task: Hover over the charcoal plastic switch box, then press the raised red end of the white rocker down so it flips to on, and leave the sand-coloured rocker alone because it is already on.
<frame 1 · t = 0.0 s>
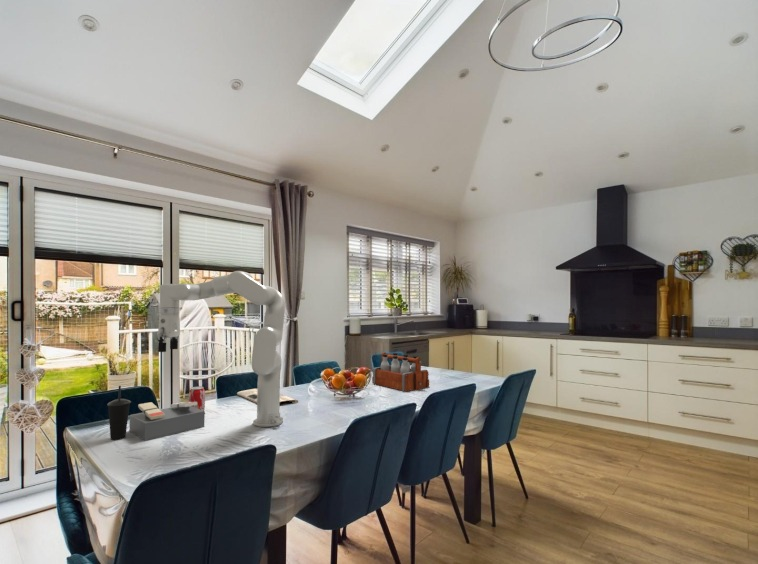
hand: (168, 350, 178), 31 cm above the table, fingers open, 9 cm apart
soda can: (196, 413, 191), on the table
newspaper: (267, 399, 220), on the table
sand rocker: (151, 410, 163), point 9 cm above the table, hinge at -10.0°
milk bottle holder: (400, 386, 255), on the table
white rocker: (184, 404, 173), point 9 cm above the table, hinge at 10.0°
drinking cup: (118, 438, 156), on the table
switch box: (167, 428, 168), on the table
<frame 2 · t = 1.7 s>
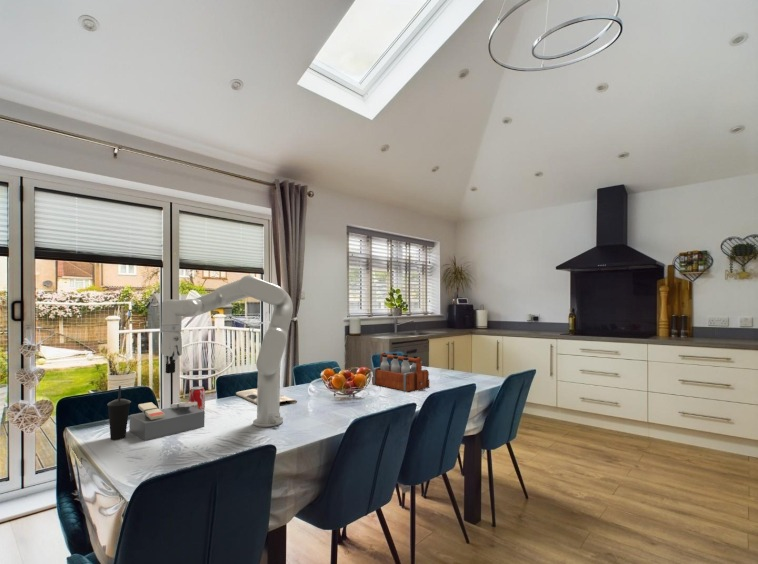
hand: (170, 372, 169), 23 cm above the table, fingers closed
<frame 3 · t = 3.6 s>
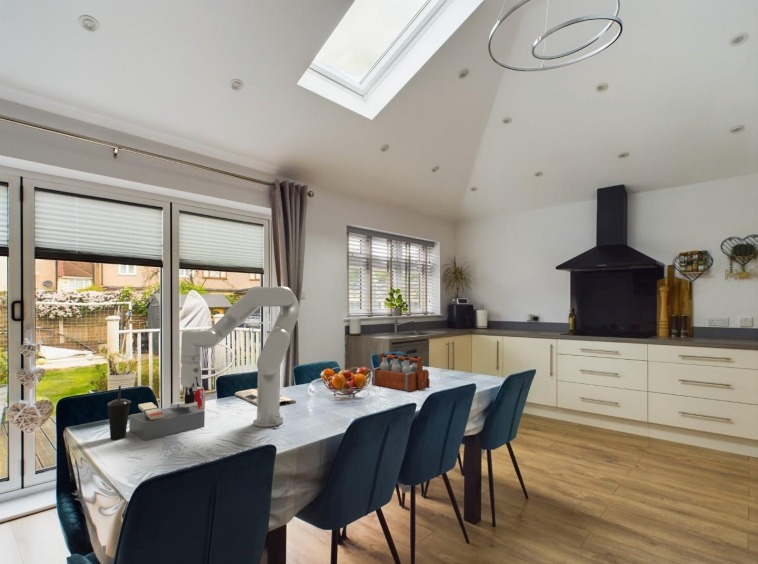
hand: (189, 403, 169), 10 cm above the table, fingers closed
white rocker: (184, 404, 173), point 9 cm above the table, hinge at 8.6°, touching gripper
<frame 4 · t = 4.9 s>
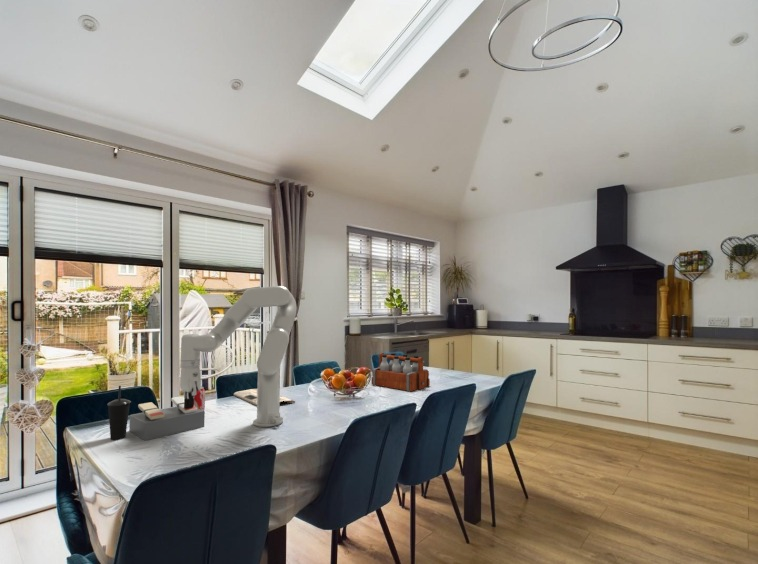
hand: (188, 407, 169), 8 cm above the table, fingers closed
white rocker: (184, 404, 173), point 9 cm above the table, hinge at -12.7°, touching gripper
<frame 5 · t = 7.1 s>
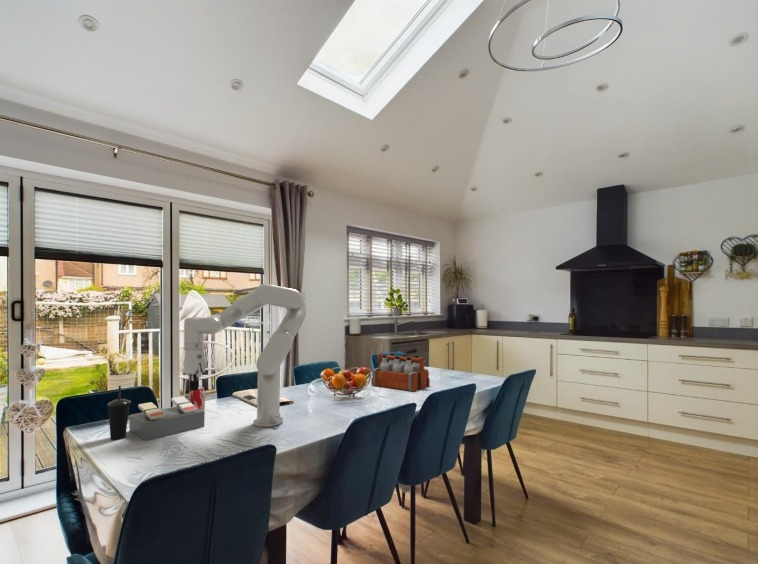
hand: (193, 389, 171), 16 cm above the table, fingers closed
white rocker: (184, 404, 173), point 9 cm above the table, hinge at -12.3°
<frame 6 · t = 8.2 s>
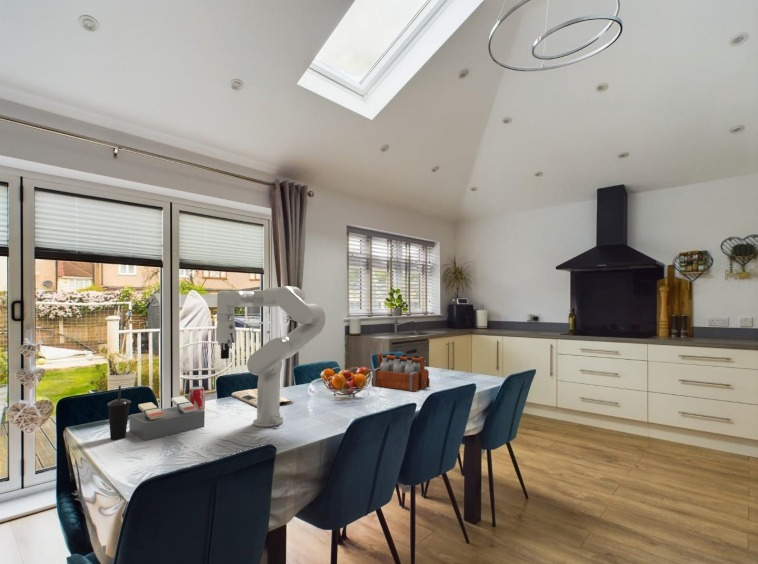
hand: (224, 358, 183), 27 cm above the table, fingers closed
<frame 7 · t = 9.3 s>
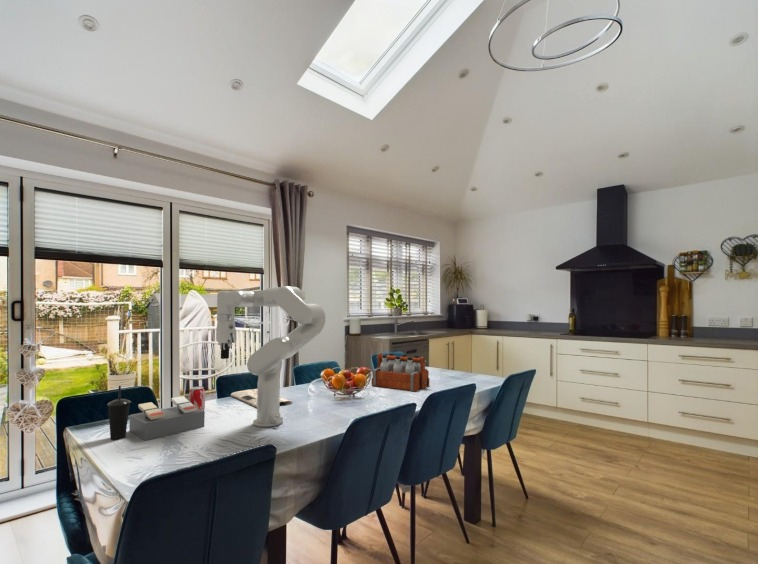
hand: (224, 358, 183), 27 cm above the table, fingers closed
at the end: white rocker at -12° (first picture: +10°); sand rocker at -10° (first picture: -10°) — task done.
